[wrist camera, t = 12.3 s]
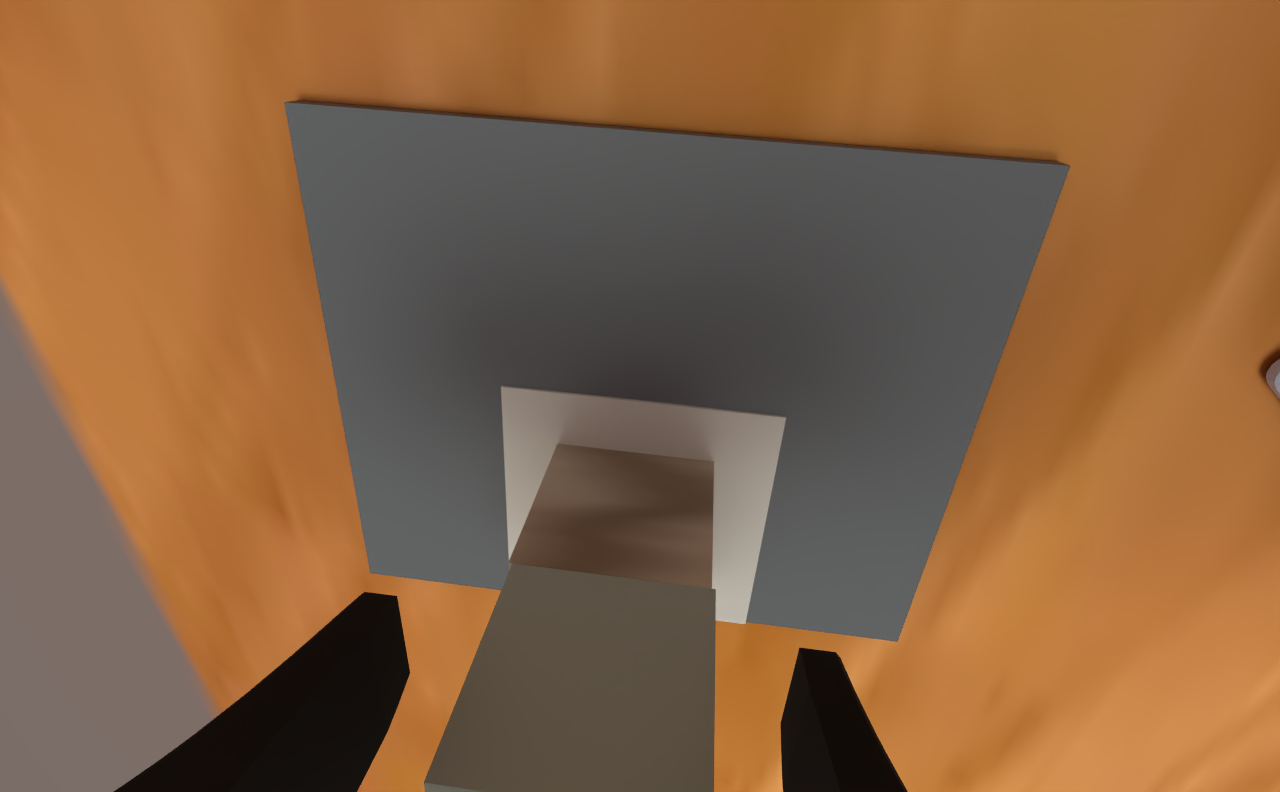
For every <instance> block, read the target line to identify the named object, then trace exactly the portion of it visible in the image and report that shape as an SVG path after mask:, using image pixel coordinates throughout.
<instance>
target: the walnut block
mask: <svg viewBox="0 0 1280 792" xmlns="http://www.w3.org/2000/svg"><path fill="white" fill-rule="evenodd" d="M713 503H714V462H713V461H705V460H696V459H687V458H679V457H670V456H661V455H652V454H644V453H635V452H626V451H618V450H609V449H600V448H592V447H583V446H574V445H565V444H557V446H556V448H555V451H554V453H553V456H552V458H551V460H550V463H549V465H548V468H547V470H546V472H545V475H544V477H543V480H542V482H541V485H540V487H539V489H538V492H537V494H536V497H535V499H534V502H533V504H532V506H531V509H530V511H529V514H528V516H527V519H526V521H525V523H524V526H523V528H522V531H521V533H520V536H519V538H518V540H517V543H516V545H515V548H514V550H513V553H512V555H511V557H510V560H509V571H510V568H511V566H512V563H514V564H522V565H530V566H537V567H545V568H553V569H561V570H569V571H577V572H585V573H592V574H600V575H608V576H616V577H624V578H632V579H639V580H647V581H655V582H663V583H671V584H679V585H687V586H694V587H702V588H710V589H712V559H713Z"/></svg>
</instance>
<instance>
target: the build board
mask: <svg viewBox="0 0 1280 792" xmlns="http://www.w3.org/2000/svg"><path fill="white" fill-rule="evenodd" d="M284 103H285V108H286V114H287V119H288V125H289V130H290V136H291V141H292V147H293V152H294V158H295V163H296V169H297V174H298V180H299V185H300V190H301V196H302V201H303V207H304V212H305V218H306V223H307V229H308V234H309V240H310V245H311V251H312V256H313V262H314V267H315V273H316V278H317V283H318V289H319V294H320V300H321V305H322V311H323V316H324V322H325V327H326V333H327V338H328V344H329V349H330V355H331V360H332V366H333V371H334V377H335V382H336V387H337V393H338V398H339V404H340V409H341V415H342V420H343V426H344V431H345V437H346V442H347V448H348V453H349V459H350V464H351V470H352V475H353V480H354V486H355V491H356V497H357V502H358V508H359V513H360V519H361V524H362V530H363V535H364V541H365V546H366V552H367V557H368V563H369V568H370V573H373V574H381V575H389V576H396V577H404V578H412V579H420V580H427V581H435V582H443V583H450V584H458V585H466V586H473V587H481V588H489V589H496V590H502V588H503V585H504V583H505V580H506V578H507V575H508V573H509V560H510V557H511V555H512V553H513V550H514V548H515V545H516V543H517V540H518V538H519V536H520V533H521V531H522V528H523V526H524V523H525V521H526V519H527V516H528V514H529V511H530V509H531V506H532V504H533V502H534V499H535V497H536V494H537V492H538V489H539V487H540V485H541V482H542V480H543V477H544V475H545V472H546V470H547V468H548V465H549V463H550V460H551V458H552V456H553V453H554V451H555V448H556V446H557V444H565V445H574V446H583V447H592V448H600V449H609V450H618V451H626V452H635V453H644V454H652V455H661V456H670V457H679V458H687V459H696V460H705V461H713V462H714V503H713V559H712V589H716V620H717V621H725V622H732V623H740V624H745V623H746V622H750V623H758V624H766V625H773V626H781V627H789V628H796V629H804V630H812V631H819V632H827V633H835V634H842V635H850V636H858V637H865V638H873V639H881V640H889V641H896V642H898V639H899V636H900V633H901V631H902V628H903V625H904V622H905V620H906V617H907V614H908V611H909V609H910V606H911V603H912V600H913V598H914V595H915V592H916V589H917V587H918V584H919V581H920V578H921V576H922V573H923V570H924V567H925V565H926V562H927V559H928V556H929V553H930V551H931V548H932V545H933V542H934V540H935V537H936V534H937V531H938V529H939V526H940V523H941V520H942V518H943V515H944V512H945V509H946V507H947V504H948V501H949V498H950V496H951V493H952V490H953V487H954V485H955V482H956V479H957V476H958V474H959V471H960V468H961V465H962V463H963V460H964V457H965V454H966V452H967V449H968V446H969V443H970V441H971V438H972V435H973V432H974V430H975V427H976V424H977V421H978V419H979V416H980V413H981V410H982V408H983V405H984V402H985V399H986V397H987V394H988V391H989V388H990V386H991V383H992V380H993V377H994V375H995V372H996V369H997V366H998V364H999V361H1000V358H1001V355H1002V353H1003V350H1004V347H1005V344H1006V342H1007V339H1008V336H1009V333H1010V331H1011V328H1012V325H1013V322H1014V320H1015V317H1016V314H1017V311H1018V308H1019V306H1020V303H1021V300H1022V297H1023V295H1024V292H1025V289H1026V286H1027V284H1028V281H1029V278H1030V275H1031V273H1032V270H1033V267H1034V264H1035V262H1036V259H1037V256H1038V253H1039V251H1040V248H1041V245H1042V242H1043V240H1044V237H1045V234H1046V231H1047V229H1048V226H1049V223H1050V220H1051V218H1052V215H1053V212H1054V209H1055V207H1056V204H1057V201H1058V198H1059V196H1060V193H1061V190H1062V187H1063V185H1064V182H1065V179H1066V176H1067V174H1068V171H1069V168H1070V166H1069V165H1066V164H1064V163H1061V162H1057V161H1045V160H1032V159H1020V158H1008V157H995V156H983V155H970V154H958V153H946V152H933V151H921V150H908V149H896V148H883V147H871V146H859V145H846V144H834V143H821V142H809V141H797V140H784V139H772V138H759V137H747V136H734V135H722V134H710V133H697V132H685V131H672V130H660V129H648V128H635V127H623V126H610V125H598V124H585V123H573V122H561V121H548V120H536V119H523V118H511V117H499V116H486V115H474V114H461V113H449V112H436V111H424V110H412V109H399V108H387V107H374V106H362V105H350V104H337V103H325V102H312V101H300V100H298V101H290V102H284Z"/></svg>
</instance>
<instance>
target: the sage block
mask: <svg viewBox="0 0 1280 792" xmlns="http://www.w3.org/2000/svg"><path fill="white" fill-rule="evenodd" d="M715 622H716V589H710V588H702V587H694V586H687V585H679V584H671V583H663V582H655V581H647V580H639V579H632V578H624V577H616V576H608V575H600V574H592V573H585V572H577V571H569V570H561V569H553V568H545V567H537V566H530V565H522V564H514V563H512V566H511V568H510V571H509V573H508V575H507V578H506V580H505V583H504V585H503V588H502V590H501V593H500V595H499V598H498V600H497V603H496V605H495V608H494V610H493V613H492V615H491V618H490V620H489V623H488V625H487V628H486V630H485V632H484V635H483V637H482V640H481V642H480V645H479V647H478V650H477V652H476V655H475V657H474V660H473V662H472V665H471V667H470V670H469V672H468V675H467V677H466V680H465V682H464V684H463V687H462V689H461V692H460V694H459V697H458V699H457V702H456V704H455V707H454V709H453V712H452V714H451V717H450V719H449V722H448V724H447V727H446V729H445V732H444V734H443V736H442V739H441V741H440V744H439V746H438V749H437V751H436V754H435V756H434V759H433V761H432V764H431V766H430V769H429V771H428V774H427V776H426V779H425V781H424V786H425V792H714V716H715Z"/></svg>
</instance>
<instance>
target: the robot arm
mask: <svg viewBox="0 0 1280 792" xmlns="http://www.w3.org/2000/svg"><path fill="white" fill-rule="evenodd" d="M1266 381H1267V384H1268V385H1269V386H1270V388H1271V389H1272V390H1273V392H1274V393H1275V394H1276V396H1277V397H1278V398H1279V400H1280V359H1279V360H1277V361H1276V362H1275V363H1273V364H1272V365H1271V367H1270V368H1269V370H1268V371H1267V374H1266ZM409 674H410V670H409V664H408V658H407V652H406V646H405V641H404V635H403V629H402V623H401V617H400V611H399V605H398V600H397V596H392V595H384V594H376V593H368V592H364V593H363V594H361V595H360V596H359V597H358V598H357V599H355V600H354V601H353V602H352V603H351V604H350V605H349V606H347V607H346V608H345V609H344V610H343V611H342V612H341V613H339V614H338V615H337V616H336V617H335V618H334V619H333V620H332V621H330V622H329V623H328V624H327V625H326V626H325V627H324V628H322V629H321V630H320V631H319V632H318V633H317V634H316V635H315V636H313V637H312V638H311V639H310V640H309V641H308V642H307V643H305V644H304V645H303V646H302V647H301V648H300V649H299V650H297V651H296V652H295V653H294V654H293V655H292V656H290V657H289V658H288V659H287V660H286V661H284V662H283V663H282V664H281V665H280V666H279V667H277V668H276V669H275V670H274V671H273V672H271V673H270V674H269V675H268V676H267V677H266V678H264V679H263V680H262V681H261V682H260V683H258V684H257V685H256V686H255V687H254V688H252V689H251V690H250V691H249V692H248V693H246V694H245V695H244V696H243V697H241V698H240V699H239V700H238V701H236V702H235V703H234V704H232V705H231V706H230V707H229V708H227V709H226V710H225V711H224V712H222V713H221V714H220V715H218V716H217V717H216V718H215V719H213V720H212V721H211V722H210V723H208V724H207V725H206V726H204V727H203V728H202V729H201V730H199V731H198V732H197V733H196V734H194V735H193V736H192V737H190V738H189V739H187V740H186V741H185V742H183V743H182V744H181V745H179V746H178V747H177V748H175V749H174V750H173V751H171V752H170V753H168V754H167V755H166V756H164V757H163V758H162V759H160V760H159V761H157V762H156V763H155V764H153V765H152V766H150V767H149V768H147V769H146V770H144V771H143V772H142V773H140V774H139V775H137V776H136V777H134V778H133V779H132V780H130V781H129V782H127V783H126V784H125V785H123V786H122V787H120V788H118V789H117V790H115V791H114V792H357V791H358V789H359V787H360V785H361V783H362V781H363V779H364V777H365V775H366V773H367V771H368V769H369V767H370V765H371V763H372V761H373V759H374V757H375V755H376V753H377V751H378V750H379V748H380V746H381V744H382V742H383V740H384V738H385V736H386V734H387V732H388V729H389V727H390V724H391V722H392V719H393V717H394V714H395V712H396V709H397V707H398V704H399V701H400V699H401V696H402V693H403V690H404V688H405V685H406V682H407V680H408V677H409ZM781 753H782V780H783V792H907V790H906V788H905V786H904V784H903V783H902V781H901V779H900V777H899V775H898V774H897V772H896V770H895V768H894V766H893V764H892V763H891V761H890V759H889V757H888V755H887V754H886V752H885V750H884V748H883V746H882V744H881V742H880V740H879V738H878V737H877V735H876V733H875V731H874V729H873V727H872V725H871V723H870V721H869V719H868V717H867V715H866V713H865V711H864V709H863V707H862V704H861V702H860V700H859V698H858V696H857V694H856V692H855V690H854V688H853V685H852V683H851V681H850V679H849V676H848V674H847V672H846V670H845V667H844V665H843V663H842V660H841V658H840V657H839V656H838V655H837V653H836V652H829V651H821V650H813V649H806V648H799V652H798V656H797V660H796V664H795V668H794V672H793V676H792V680H791V684H790V688H789V692H788V696H787V700H786V704H785V708H784V712H783V716H782V720H781Z"/></svg>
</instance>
